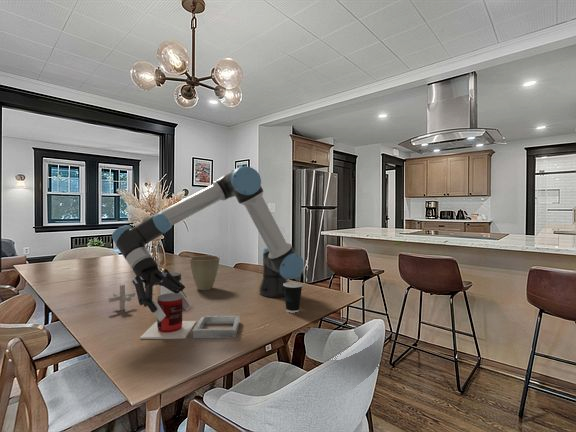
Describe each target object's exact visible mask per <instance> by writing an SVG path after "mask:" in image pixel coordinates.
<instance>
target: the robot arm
mask: <svg viewBox="0 0 576 432" xmlns="http://www.w3.org/2000/svg"><path fill="white" fill-rule="evenodd" d="M261 184H262V178H261V175H260V174H259V172H258V171H257V169H255V168H253V167H251V166H246V165H245V166H239V167H236V168H235V169H231V170H230V171H228V172H226V174H224V175H222V176H221V177H220V178H218V179H216V180H214V181H213V182H212V184H211V185H209V186H207V187H206V188H203V189H201V190H200V191H198V192H196V193H193V194H192V195H189V196H188V197H186V198H184V199H182V200H180V201H178V202H176V203H174V204H172V205H170V206H168V207H166V208H164V209H162V210H160V211H159V212H156V213H154V214H151V215H149V216H147V217H145V218H144V219H143V220H142V222H141V223H139V224H137V225H136V226H134V227H132V226H131V225H129V224H128V225H123V226H119V227H118V228H116V229H115V230H114V231H113V232H112V235H111V239H112V240H113V242H114V244H115V246H116V247H117V250H119V252H120V253H121V255H122V256H123V258H124V259H125V261H126V262H127V264H128V266H129V267H130V269H132V271H133V273H134V274H135V277H134V279H132V284H133V285H134V287H135V293H136V296H137V300H138V304H139V305H140V306H144V307H146V308H147V307H148V309H149V310H150V312H151V313H153V314H154V316H155V317H156V319H157V318H158V320H159V321H162V320H163V319H164V318H165V317H166V315H165V313H164V312H163V310H162V309H161V307H160V306H159V304H158V303H157V300H156V299H153V297H154V296H153V287H154V286H160V287H161V286H164V287H165V288H167V289H169V290H170V291H172V292H174V293H178V294H181V295H182V308H183V309H184V310H185V311H188V310H189V309H190V307H192V304H191V303H190V301H189V299H188V297H187V296H186V294H185V292H184V291H183V290H184V289H185V288H186V286H185V285H184V284H183V282H182V283H180V282H179V281H178V280H177V279H176V278H175V277H173V276H172V275H171V274H170V273H171V272H170V271H169V270H168V269H167V268H165V269H164V270H163V271H161V270H160V269H159V265H158V263H157V262H156V260H155V259H154V257H153V256H152V254H151V253H150V252H149V250H148V249H147V247H146V245H147V244H149V243H151V242H152V241H153V240H155V239H157V238H158V237H160V236H162V235H163V234H166V233H167V232H168V231H170V230H171V229H172V227H173V226H174V225H176V224H177V223H180V222H181V221H183V220H185V219H187V218H189V217H190V216H193V215H194V214H197V213H199V212H200V211H203V210H204V209H206V208H208V207H210V206H212V205H214V204H216V203H218V202H219V201H226V200H229V199H230V198H233V197H235V199H236V200H237V202H238V203H239V205H243V206H244V207H245V209H246V211H247V213H248V215H249V216H250V218H251V220H252V222H253V224H254V226H255V227H256V229H257V231H258V234H259V235H260V238H262V240H263V242H264V244H265V246H266V247H264V248H263V251H262V279H261V282H260V285H259V289H258V294H259V295H260V296H262V297H267V298H280V297H281V298H282V296H283V297H285V292H284V285H283V284H284V283H287V282H288V281H289V280H294V279H297V278H298V277H299V276H300V275H301V274H302V273H303V272H304V271H303V270H304V267H305V261H304V259H303V257H302V256H301V255H300V254H299V253H296V251H295V249H294V246H292V244H291V243H288V242H287V241H286V239H285V237H284V235H283V233H282V232H281V230H280V227H279V226H278V224H277V221H276V219H275V218H274V216H273V214H272V212H271V210H270V208H269V207H268V205H267V202H266V201H265V199H264V197H263V195H264V190H263V187H262V185H261ZM162 279H163V281H162ZM161 281H162V282H161ZM180 287H181V288H180ZM177 290H178V291H177Z"/></svg>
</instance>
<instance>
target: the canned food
mask: <svg viewBox="0 0 576 432" xmlns="http://www.w3.org/2000/svg"><path fill="white" fill-rule="evenodd" d="M156 301H157V303H158V304H159V306H160V307H161V309H162V310H163V312H164V313H165V315H166V317H165V318H164V319H163V320H162V321H159V320H158V318H157V317H156V319H157V328H158V330H159V331H160V332H174V331H177V330H179V329H181V327H182V321H183V306H182V295H181V294H178V293H169V294H163V295H161V294H160V295H158V296H157V300H156Z"/></svg>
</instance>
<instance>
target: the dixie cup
mask: <svg viewBox="0 0 576 432" xmlns="http://www.w3.org/2000/svg"><path fill="white" fill-rule="evenodd" d="M283 285H284V292H285V296H284V300H285V301H284V302H285V309H286V312H287V313H289V312H290V314H296V313H295V312H297V313H298V312H299V310H300V305H301V296H302V291H303V290H302V288H303V285H304V284H303V283H301V282H295V281H289V282H287V283H284V284H283Z"/></svg>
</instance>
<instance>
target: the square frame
mask: <svg viewBox="0 0 576 432" xmlns="http://www.w3.org/2000/svg"><path fill="white" fill-rule="evenodd" d="M240 318H241V316H240V315H202V316H201V317H200V319H199V320H198V322H196V323H197V324H195V325H194V327H193V329H192V338H193V339H229V338H230V339H235V338H236V336H237V333H238V330H239V325H240V320H241V319H240ZM222 324H223V325H231V324H232V328H204V327H205V325H222Z"/></svg>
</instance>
